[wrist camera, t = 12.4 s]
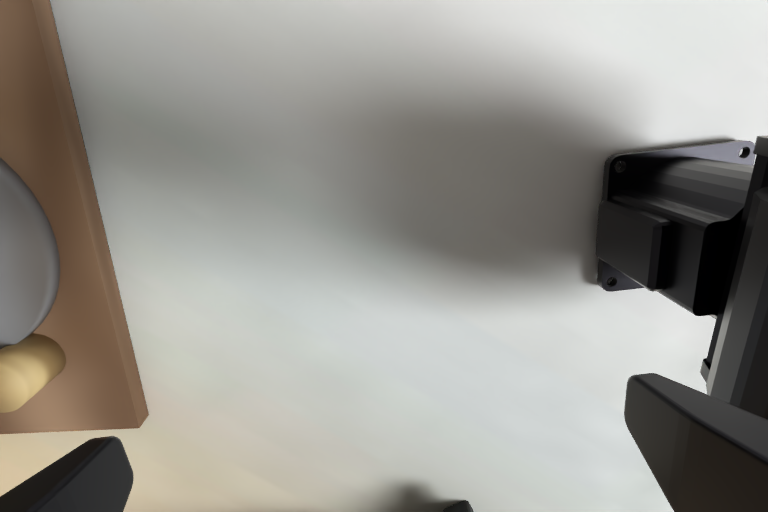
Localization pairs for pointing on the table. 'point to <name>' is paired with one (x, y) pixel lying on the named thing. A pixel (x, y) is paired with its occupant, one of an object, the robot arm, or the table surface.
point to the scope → (459, 507)
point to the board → (54, 251)
